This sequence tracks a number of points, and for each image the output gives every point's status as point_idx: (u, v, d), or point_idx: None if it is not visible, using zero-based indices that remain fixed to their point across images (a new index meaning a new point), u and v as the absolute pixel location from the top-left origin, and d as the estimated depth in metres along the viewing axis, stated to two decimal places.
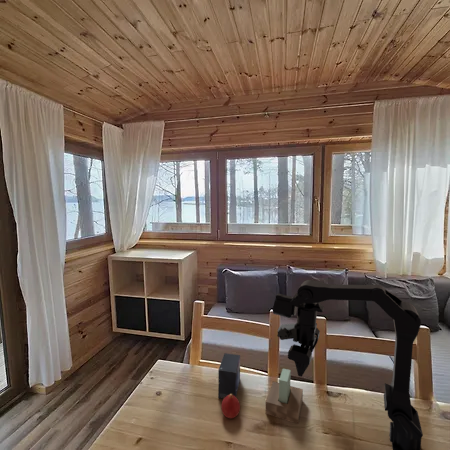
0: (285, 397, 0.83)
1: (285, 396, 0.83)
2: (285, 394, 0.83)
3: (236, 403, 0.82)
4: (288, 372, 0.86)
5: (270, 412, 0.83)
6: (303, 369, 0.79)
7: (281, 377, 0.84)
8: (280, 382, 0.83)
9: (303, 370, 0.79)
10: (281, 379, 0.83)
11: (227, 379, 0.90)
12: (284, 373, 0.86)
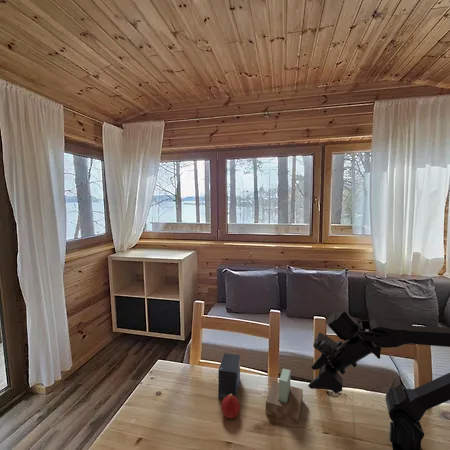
0: (285, 397, 0.83)
1: (285, 396, 0.83)
2: (285, 394, 0.83)
3: (236, 403, 0.82)
4: (288, 372, 0.86)
5: (270, 412, 0.83)
6: (320, 387, 0.75)
7: (281, 377, 0.84)
8: (280, 382, 0.83)
9: (319, 387, 0.76)
10: (281, 379, 0.83)
11: (227, 379, 0.90)
12: (284, 373, 0.86)
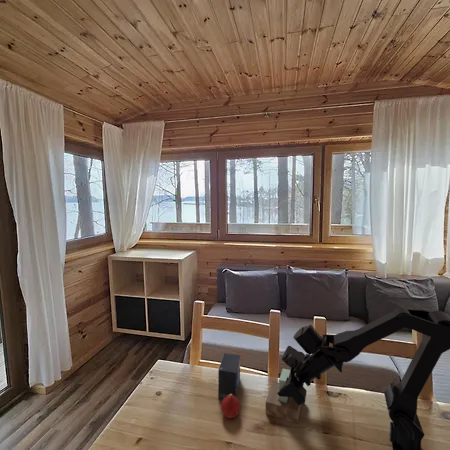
0: (285, 397, 0.83)
1: None
2: None
3: (236, 403, 0.82)
4: (288, 372, 0.86)
5: (270, 412, 0.83)
6: (287, 395, 0.81)
7: (281, 377, 0.84)
8: (280, 382, 0.83)
9: (286, 395, 0.81)
10: (281, 379, 0.83)
11: (227, 379, 0.90)
12: (284, 373, 0.86)
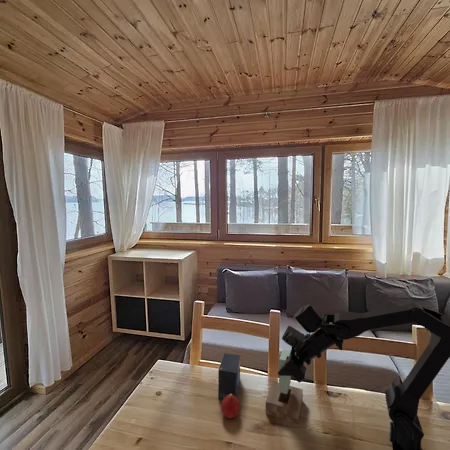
0: (285, 376, 0.83)
1: None
2: None
3: (236, 403, 0.82)
4: (288, 352, 0.86)
5: (270, 412, 0.83)
6: (287, 374, 0.81)
7: (281, 357, 0.84)
8: (280, 361, 0.83)
9: (286, 374, 0.81)
10: (281, 358, 0.83)
11: (227, 379, 0.90)
12: (284, 353, 0.86)
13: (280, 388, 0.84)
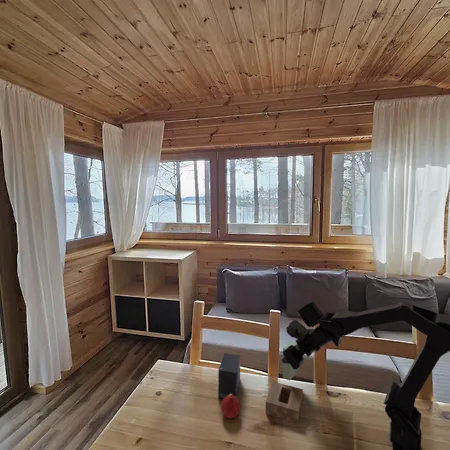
0: (288, 364, 0.92)
1: None
2: None
3: (236, 403, 0.82)
4: (294, 344, 0.95)
5: (270, 412, 0.83)
6: (289, 362, 0.90)
7: (286, 346, 0.93)
8: None
9: (288, 362, 0.90)
10: (285, 348, 0.93)
11: (227, 379, 0.90)
12: (290, 344, 0.95)
13: (284, 374, 0.93)
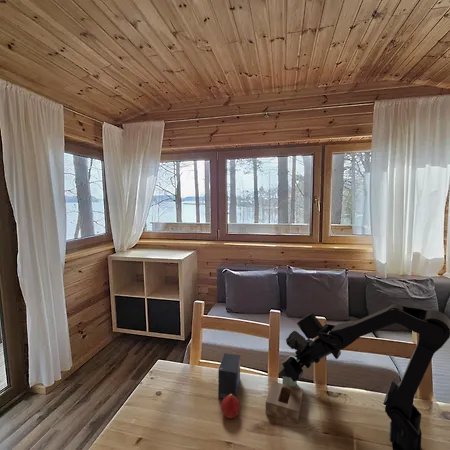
0: (287, 379, 0.92)
1: (287, 378, 0.92)
2: (287, 377, 0.92)
3: (236, 403, 0.82)
4: None
5: (270, 412, 0.83)
6: (286, 375, 0.89)
7: None
8: None
9: (286, 375, 0.90)
10: None
11: (227, 379, 0.90)
12: None
13: None
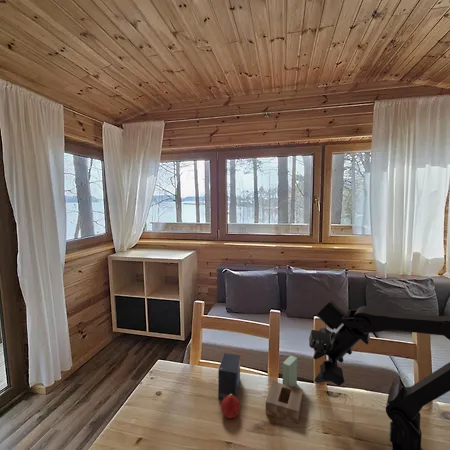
0: (287, 379, 0.92)
1: (287, 378, 0.92)
2: (287, 377, 0.92)
3: (236, 403, 0.82)
4: (294, 359, 0.95)
5: (270, 412, 0.83)
6: (325, 380, 0.81)
7: (285, 361, 0.94)
8: (283, 365, 0.93)
9: (324, 381, 0.81)
10: (285, 363, 0.93)
11: (227, 379, 0.90)
12: (290, 359, 0.95)
13: None
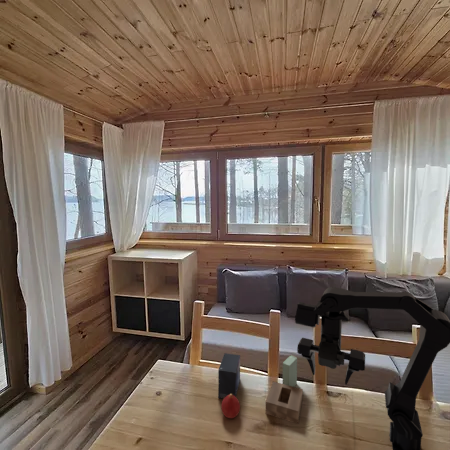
0: (287, 379, 0.92)
1: (287, 378, 0.92)
2: (287, 377, 0.92)
3: (236, 403, 0.82)
4: (294, 359, 0.95)
5: (270, 412, 0.83)
6: None
7: (285, 361, 0.94)
8: (283, 365, 0.93)
9: None
10: (285, 363, 0.93)
11: (227, 379, 0.90)
12: (290, 359, 0.95)
13: None
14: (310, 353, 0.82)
